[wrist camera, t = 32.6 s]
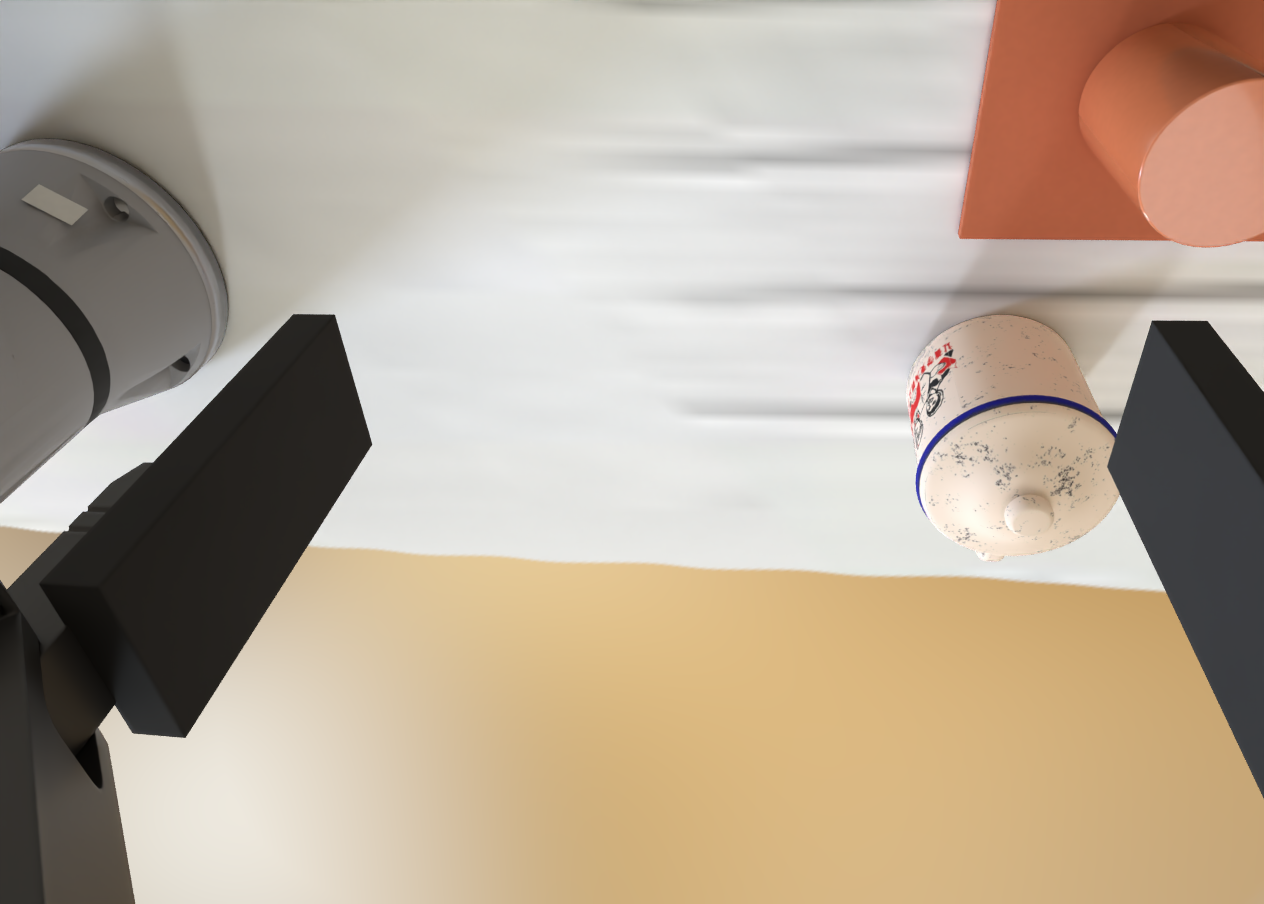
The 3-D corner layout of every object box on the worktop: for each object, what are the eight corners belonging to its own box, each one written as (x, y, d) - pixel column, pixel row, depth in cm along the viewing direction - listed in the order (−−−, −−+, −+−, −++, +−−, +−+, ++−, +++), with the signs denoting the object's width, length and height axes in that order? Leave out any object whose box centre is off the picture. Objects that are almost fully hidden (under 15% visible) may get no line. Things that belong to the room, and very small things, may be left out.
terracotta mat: (957, 234, 44) (959, 239, 43) (999, -16, 37) (1001, -13, 37) (1271, 236, 42) (1276, 242, 41) (1372, -28, 35) (1380, -26, 35)
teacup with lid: (908, 308, 47) (933, 437, 37) (1096, 305, 45) (1171, 439, 36) (891, 489, 54) (909, 635, 44) (1053, 492, 52) (1107, 644, 43)
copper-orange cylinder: (1063, 167, 41) (1119, 247, 34) (1097, 24, 37) (1166, 79, 30) (1207, 167, 40) (1294, 249, 33) (1255, 19, 36) (1365, 75, 29)
